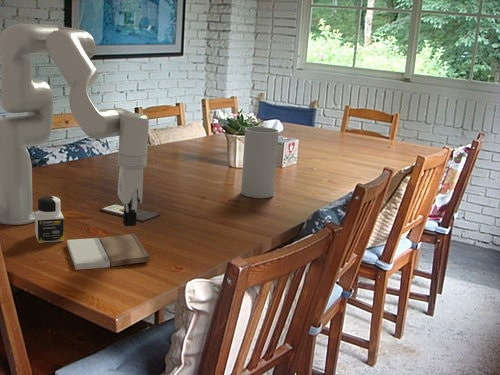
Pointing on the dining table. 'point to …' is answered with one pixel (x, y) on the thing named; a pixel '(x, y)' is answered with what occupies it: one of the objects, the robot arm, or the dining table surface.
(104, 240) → the plank
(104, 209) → the chocolate bar
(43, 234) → the medicine bottle
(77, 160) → the dining table surface
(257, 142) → the cylinder vase
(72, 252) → the laid board
